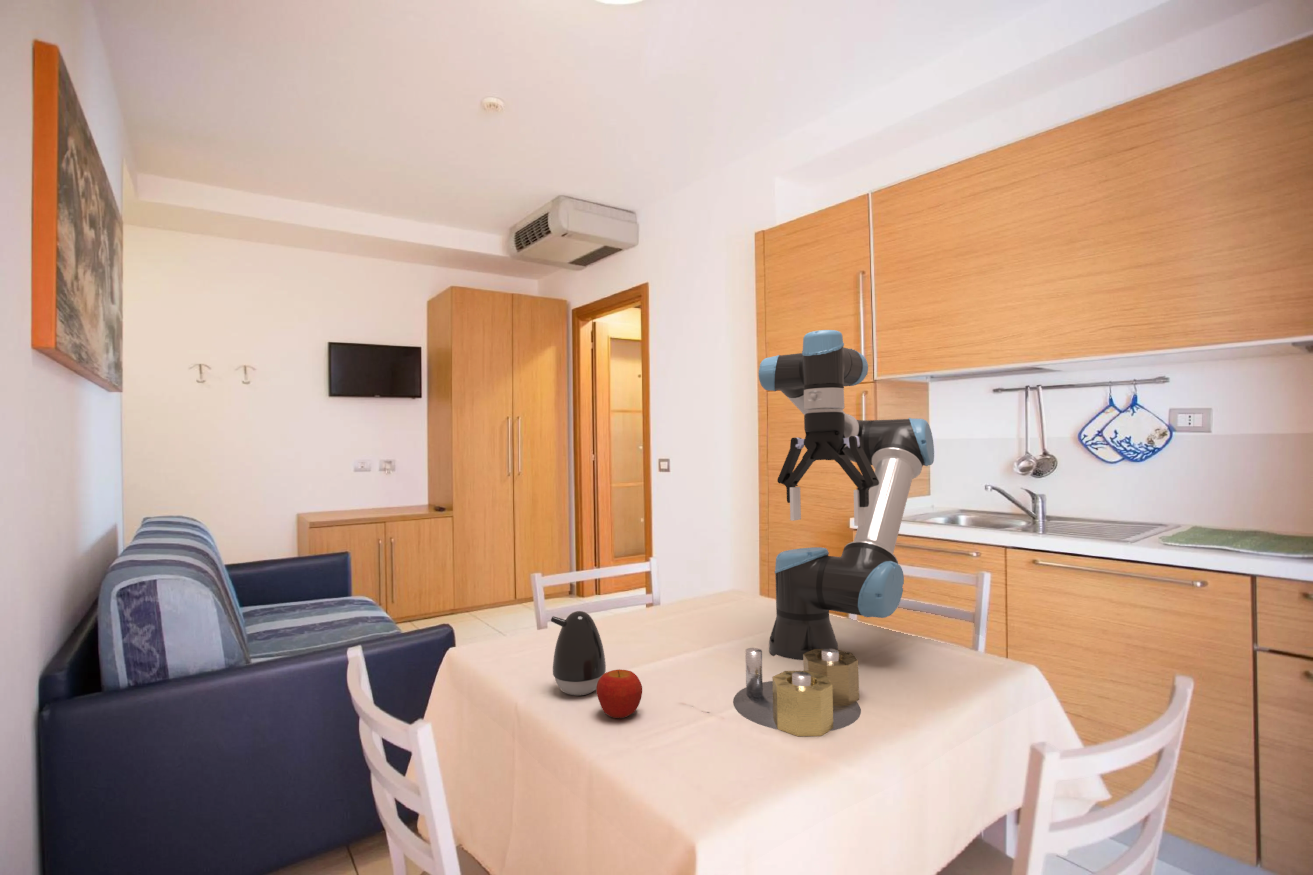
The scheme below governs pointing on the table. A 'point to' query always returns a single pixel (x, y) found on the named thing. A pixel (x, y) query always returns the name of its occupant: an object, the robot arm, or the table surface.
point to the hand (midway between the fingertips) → (826, 522)
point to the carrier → (759, 695)
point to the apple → (619, 693)
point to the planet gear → (803, 705)
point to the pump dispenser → (578, 654)
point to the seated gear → (836, 674)
